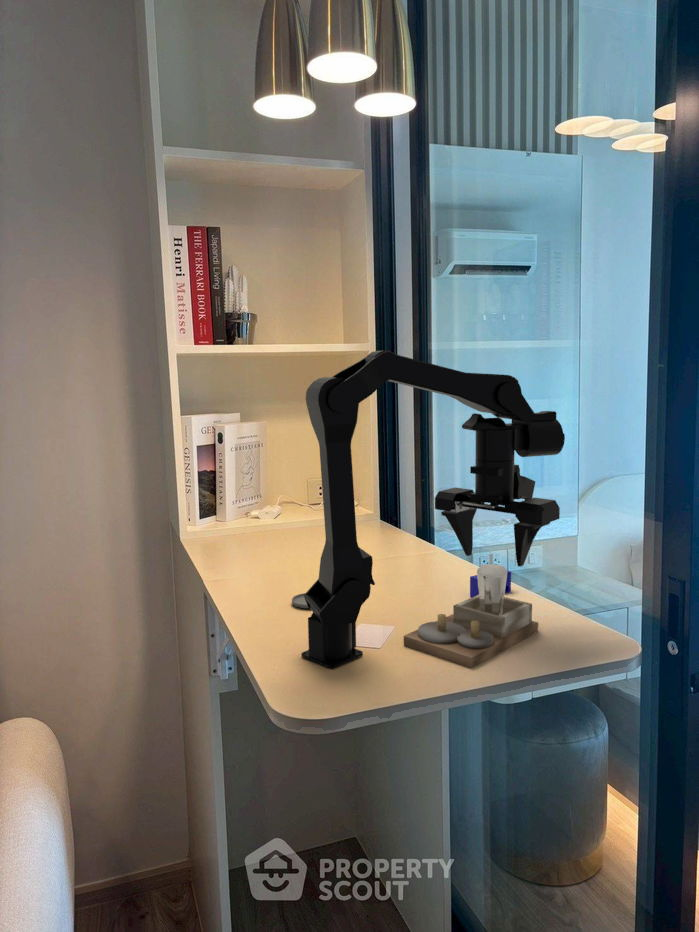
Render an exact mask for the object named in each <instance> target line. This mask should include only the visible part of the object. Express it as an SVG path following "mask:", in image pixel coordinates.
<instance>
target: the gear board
mask: <svg viewBox="0 0 699 932" xmlns="http://www.w3.org/2000/svg"><path fill="white" fill-rule="evenodd" d="M452 608H453V609H452V611H453V613H452V614H450V615H448V616H447V615H446V614H443V613H439V614H437V620H436V621H430V622H425V623H422V624H421V625H420V626H418V627H417V629H416V630H414V631H412V632H408V633H406V634H404V635H403V646H404V647H407V648H410V649H414V650H415V651H418V652H423V653H425V654H427V655H430V656H433V657H438V658H440V659H443V660H446V661H449V662H452V663H454V664H457V665H461V666H462V667H463V666H464V667H467V668H470V669H472V668H474V667H476V666H478V665H480V664H481V663H483V662H485V661H487V660H489V659H491V658H492V657H494V656H497V655H498V654H500V653H502V652H504V651H505V650H507V649H509V648H511V647H512V646H514V645H516V644H518V643H520V642H522V641H523V640H525V639H527V638H529V637H531V636H533V635H535V634H536V633H538V632H539V622H538V621H534V620H533V603H530V602H527V601H521V600H518V599H514V598H510V597H505V596H504V605H503V615H501V616H499V615H495V614H491V613H487V612H484V611H480V601H479V595H477V596H475V597H472V598H471V597H469V598H468V599H465V600H463V601H461V602H458V603H456V604H454V605H453V607H452Z"/></svg>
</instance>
